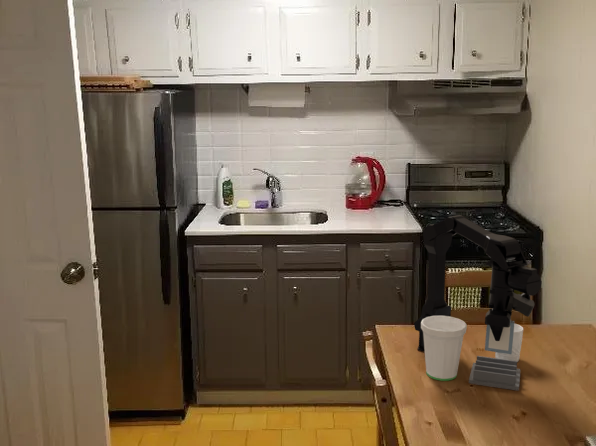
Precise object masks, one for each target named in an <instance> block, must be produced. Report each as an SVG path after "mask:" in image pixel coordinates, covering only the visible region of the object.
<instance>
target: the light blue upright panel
mask: <svg viewBox="0 0 596 446" xmlns="http://www.w3.org/2000/svg"><path fill="white" fill-rule="evenodd" d="M514 324H515V320H511V321H510V327H504V328H503V331H502V334H501V338H500V341H495V338H494V336H493V333H492V330H491V328H490V325H486V329H485V341H484V342H485V343H484V351H487V352H499V353H506V354H512V345H513V333H514Z"/></svg>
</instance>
